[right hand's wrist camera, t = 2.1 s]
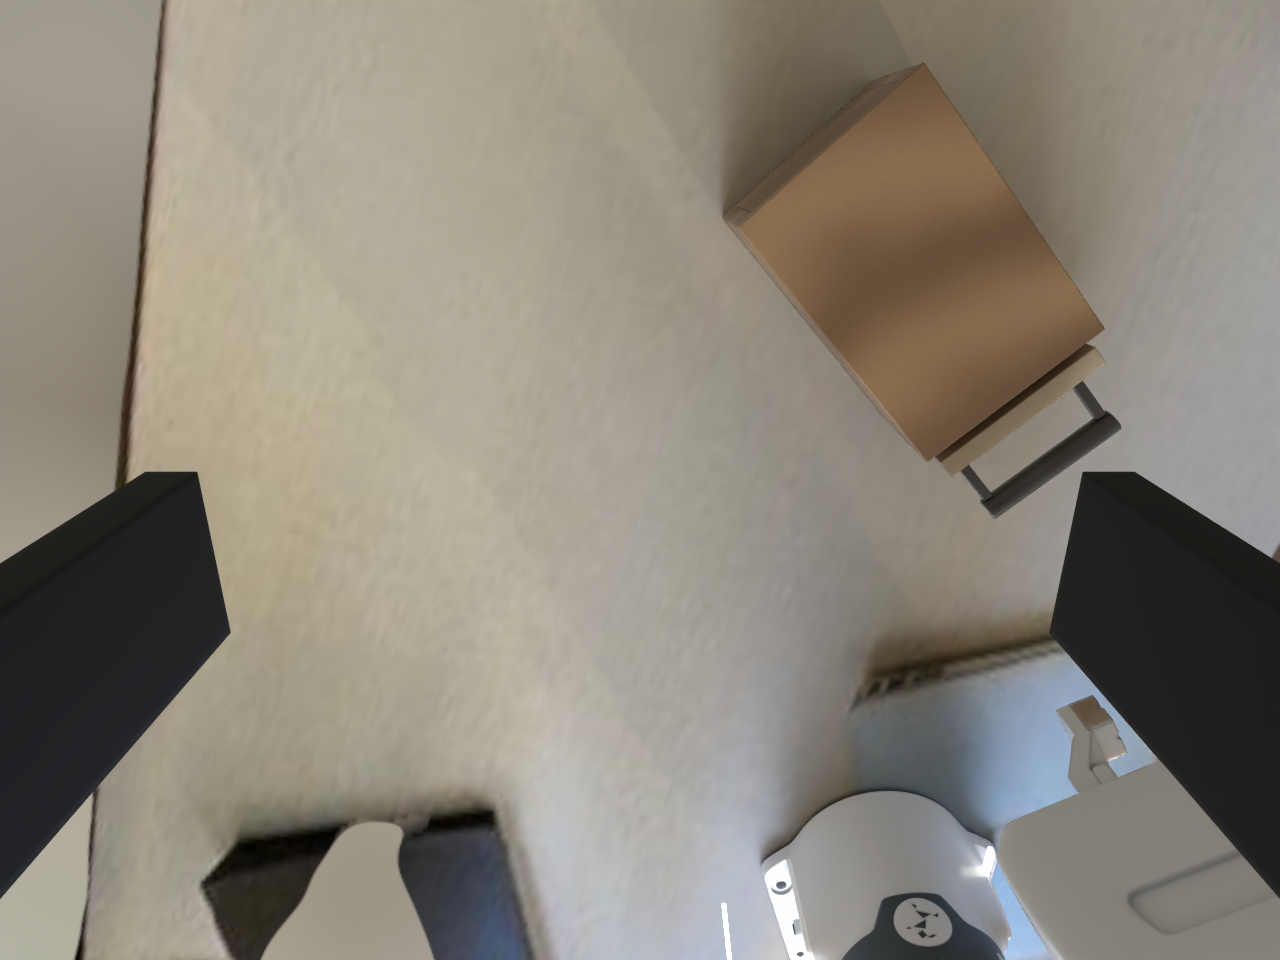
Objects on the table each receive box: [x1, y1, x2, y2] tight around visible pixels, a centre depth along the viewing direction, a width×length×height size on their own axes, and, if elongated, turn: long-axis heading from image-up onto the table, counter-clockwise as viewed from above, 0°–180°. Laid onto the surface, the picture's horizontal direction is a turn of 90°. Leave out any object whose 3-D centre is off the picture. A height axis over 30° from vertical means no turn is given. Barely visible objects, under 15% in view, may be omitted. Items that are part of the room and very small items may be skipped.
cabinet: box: [722, 63, 1105, 462], centre depth 46 cm, size 17×11×9 cm
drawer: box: [933, 344, 1122, 519], centre depth 48 cm, size 21×10×6 cm, turn 41°
